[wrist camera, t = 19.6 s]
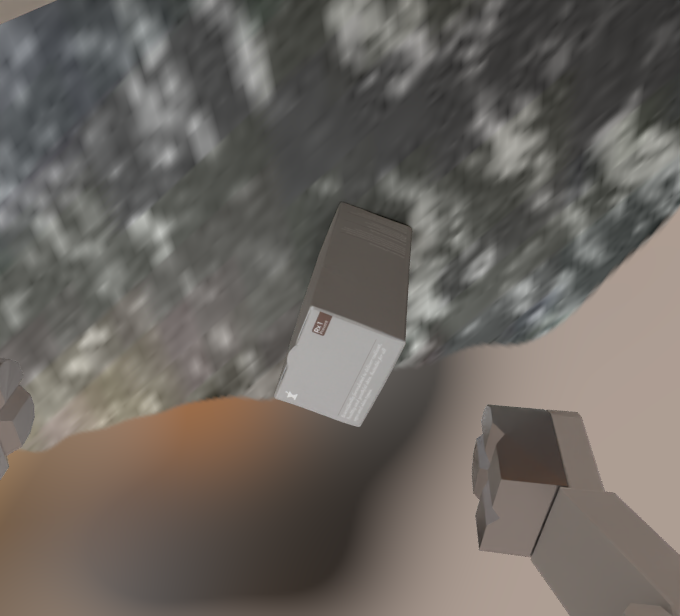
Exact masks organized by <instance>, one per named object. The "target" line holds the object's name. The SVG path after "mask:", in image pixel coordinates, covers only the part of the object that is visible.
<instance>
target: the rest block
mask: <svg viewBox="0 0 680 616" xmlns="http://www.w3.org/2000/svg"><path fill="white" fill-rule="evenodd" d="M54 1H56V0H0V24H2V23H4V22H7V21H9V20H11V19H14V18H16V17H19V16H21V15H23V14H26V13H28V12H30V11H33V10H35V9H37V8H40V7H42V6H44V5H47V4H49V3H51V2H54Z"/></svg>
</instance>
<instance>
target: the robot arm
mask: <svg viewBox="0 0 680 616" xmlns="http://www.w3.org/2000/svg"><path fill="white" fill-rule="evenodd" d="M23 377H24V374H23V372H22V369H21V367H20V364H19V362H17V361H14V360H11V359H5V358H0V479H1V478H2V476H3V475H4V474H5V472H6V470H7V469H8V467H9V464H8V459H7V455H9V454H10V453H12V452H14V451H15V450H17V449H19V448H20V447H22V446H23V444H24V443H25V441H26V439H27V438H28V436H29V434H30V432H31V428H32V425H33V421H34V418H35V416H34V403H33V400H32V397H31V395H30V394H29V393H28V392H27V391H26V390H25V389H24V388H22V387H21V386H20V385H19V384H20V382H21V381H22V379H23ZM481 423H482V431H483V434H482V435H481V436H480V437H478V438H477V439H476V444H475V448H474V453H473V463H472V484H473V493H474V494H475V495H476V496H477V498H478V499H479V500H480V501H479V504H478V508H477V511H476V524H477V534H478V543H479V550H480V551H488V552H496V553H503V554H511V555H518V556H525V557H531V561H532V562H533V564H534V565H535V567H536V568H537V570H538V571H539V572H540V574H541V575H542V577H543V578H544V580H545V581H546V582H547V584H548V585H549V587H550V588H551V590H552V591H553V592H554V594H555V595H556V596H557V598H558V600H559V601H560V602H561V604H562V605H563V607H564V608H565V609H566V611H567V612H568V614H569V615H570V616H680V555H679V554H678V553H677V552H676V551H675V550H674V549H673V548H672V547H671V546H670V545H668V543H667V542H665V541H664V540H663V539H662V538H661V537H660V536H659V535H658V534H657V533H656V532H655V531H654V530H653V529H652V528H651V527H650V526H649V525H647V523H646V522H644V521H643V520H642V519H641V518H640V517H639V516H638V515H637V514H636V513H635V512H634V511H633V510H632V509H631V508H630V507H629V506H628V505H626V503H624V502H623V501H622V500H621V499H620V498H619V497H618V496H617V495H616V494H615V493H612V492H605V490H604V487H603V484H602V481H601V477H600V474H599V471H598V468H597V465H596V462H595V458H594V455H593V452H592V449H591V445H590V443H589V439H588V436H587V433H586V430H585V427H584V423H583V420H582V417H581V416H580V415H579V414H578V412H568V411H557V410H543V409H532V408H520V407H509V406H497V405H487V406H486V408H485V409H484V412H483V416H482V420H481Z"/></svg>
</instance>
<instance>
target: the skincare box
mask: <svg viewBox="0 0 680 616" xmlns="http://www.w3.org/2000/svg"><path fill="white" fill-rule="evenodd" d="M411 236H412V229H411V228H410V227H408V226H406V225H403V224H400V223H397V222H394V221H392V220H389V219H386V218H384V217H381V216H378V215H376V214H373V213H370V212H368V211H365V210H363V209H360V208H357V207H354V206H352V205H349V204H346V203H343V202H341V203H340V204H339V206H338V209H337V211H336V213H335V216H334V218H333V221H332V223H331V225H330V228H329V230H328V233H327V235H326V238H325V240H324V243H323V246H322V248H321V251H320V253H319V256H318V259H317V262H316V265H315V268H314V271H313V274H312V277H311V280H310V283H309V286H308V288H307V291H306V294H305V297H304V301H303V304H302V307H301V310H300V313H299V317H298V320H297V323H296V326H295V329H294V333H293V336H292V339H291V342H290V345H289V348H288V351H287V355H286V358H285V361H284V364H283V368H282V371H281V374H280V378H279V381H278V384H277V388H276V391H275V395H274V396H275V398H276V399H278V400H282V401H284V402H288V403H291V404H294V405H297V406H300V407H302V408H305V409H308V410H311V411H314V412H316V413H319V414H322V415H325V416H327V417H330V418H333V419H335V420H338V421H341V422H344V423H347V424H350V425H354V426H357V427H360V426H361V424H362V423H363V421H364V419H365V418H366V416H367V414H368V412H369V411H370V409H371V407H372V405H373V403H374V402H375V400H376V398H377V396H378V394H379V393H380V391H381V389H382V388H383V386H384V384H385V382H386V380H387V378H388V376H389V375H390V373H391V371H392V369H393V367H394V365H395V363H396V361H397V360H398V358H399V356H400V354H401V352H402V350H403V348H404V346H405V344H406V341H405V338H406V316H407V300H408V284H409V266H410V251H411Z"/></svg>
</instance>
